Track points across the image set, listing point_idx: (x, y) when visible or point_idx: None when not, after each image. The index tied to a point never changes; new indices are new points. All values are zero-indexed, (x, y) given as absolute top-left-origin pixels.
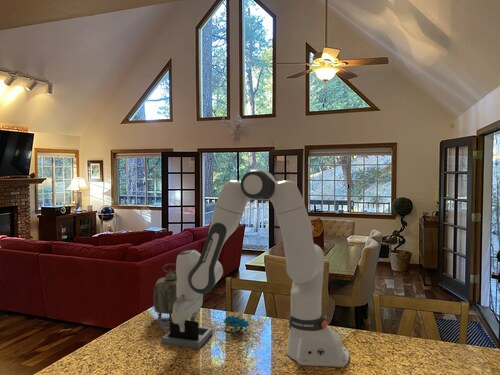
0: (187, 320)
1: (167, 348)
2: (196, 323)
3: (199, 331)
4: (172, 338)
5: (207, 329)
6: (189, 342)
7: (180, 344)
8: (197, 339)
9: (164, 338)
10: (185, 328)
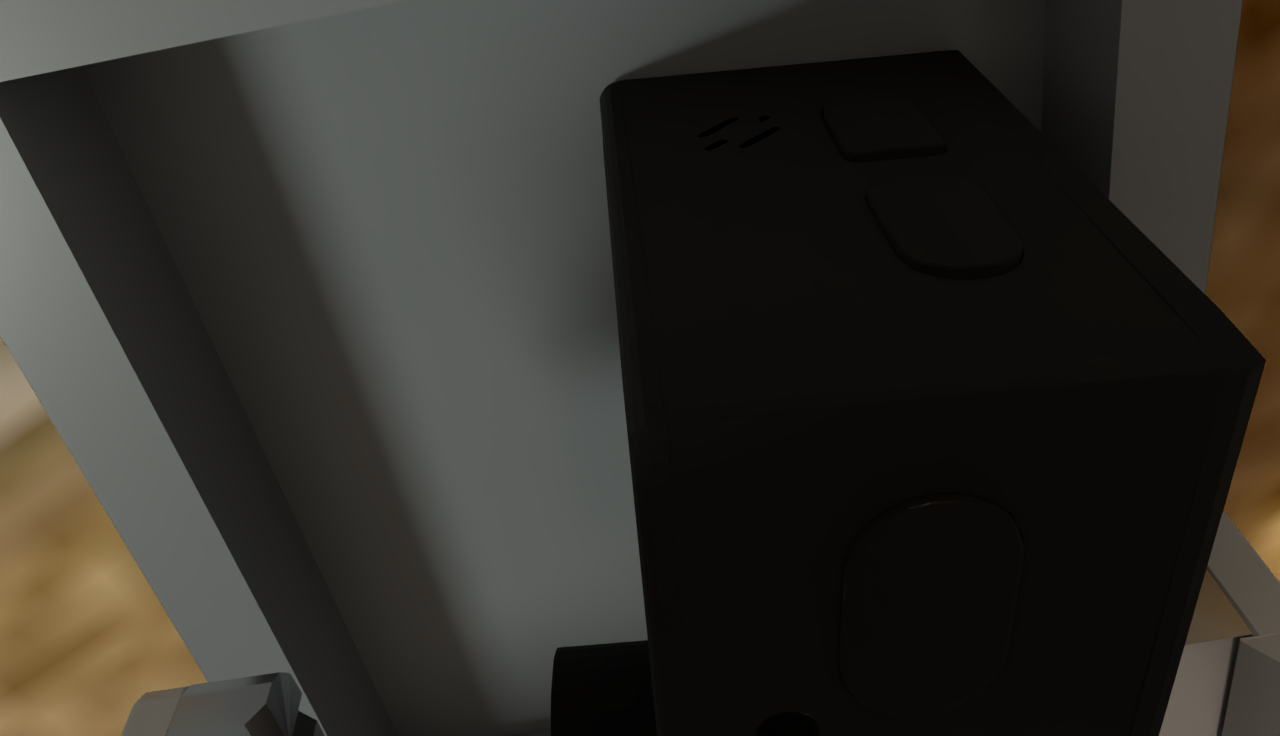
0: None
1: (1251, 474)
2: (850, 421)
3: (195, 345)
4: None
5: (18, 125)
6: (1210, 90)
7: None
8: (685, 83)
9: None
10: None
